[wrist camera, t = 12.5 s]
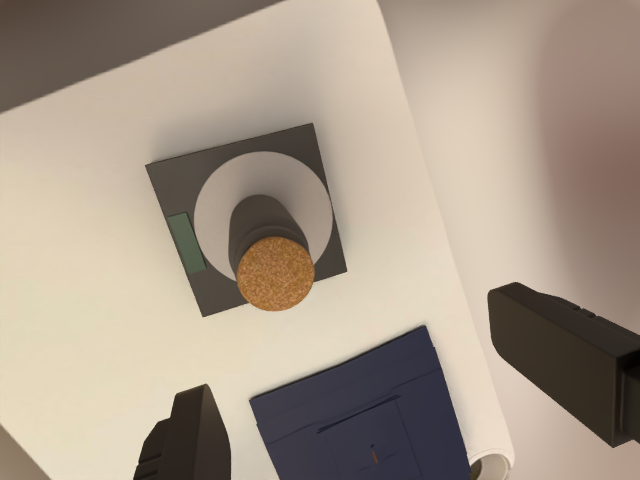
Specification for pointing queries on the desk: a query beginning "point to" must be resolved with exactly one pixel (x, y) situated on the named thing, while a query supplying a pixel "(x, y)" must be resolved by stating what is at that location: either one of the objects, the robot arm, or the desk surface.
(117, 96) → the desk surface
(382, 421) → the papers
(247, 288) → the bottle
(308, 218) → the scale
